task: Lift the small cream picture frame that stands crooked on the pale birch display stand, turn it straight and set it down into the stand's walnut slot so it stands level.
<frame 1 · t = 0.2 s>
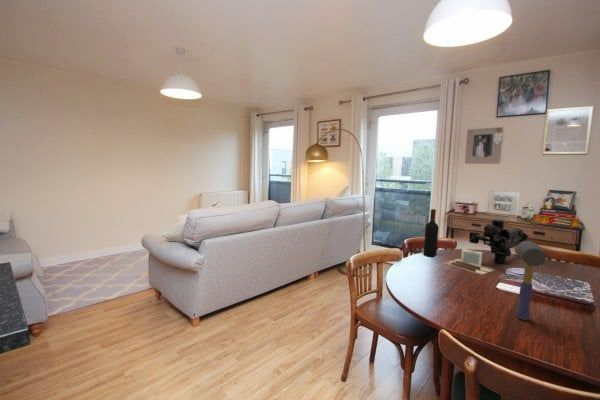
hand: (479, 242, 160), 17 cm above the table, tool horizontal, fingers open, 9 cm apart
display stand: (468, 267, 168), on the table
wine bottle: (429, 255, 190), on the table
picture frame: (470, 264, 171), point 1 cm above the table, touching display stand
rubber mallet: (522, 318, 114), on the table
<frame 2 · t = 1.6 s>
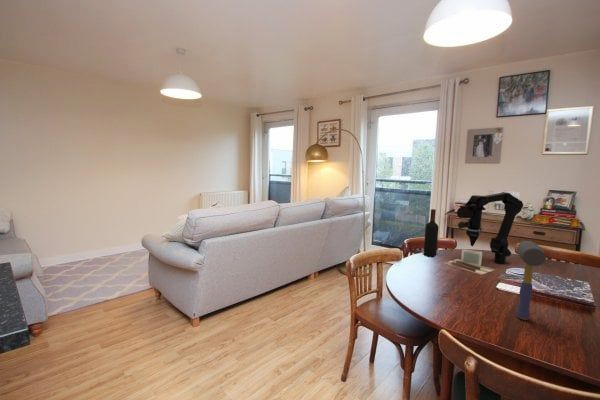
hand: (472, 244, 170), 13 cm above the table, tool pointing down, fingers open, 9 cm apart
nothing on the table moved.
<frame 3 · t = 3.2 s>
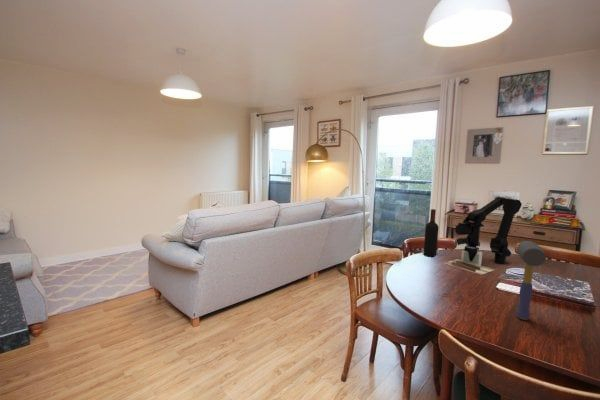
hand: (471, 260, 171), 3 cm above the table, tool pointing down, fingers closed on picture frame, 3 cm apart
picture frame: (470, 264, 171), point 1 cm above the table, touching display stand, gripper
everything else where it was.
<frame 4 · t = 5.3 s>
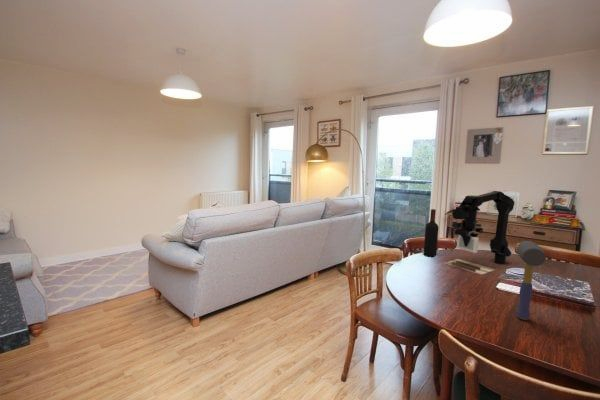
hand: (467, 245, 165), 13 cm above the table, tool pointing down, fingers closed on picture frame, 3 cm apart
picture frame: (466, 250, 165), point 11 cm above the table, touching gripper
everything else where it was.
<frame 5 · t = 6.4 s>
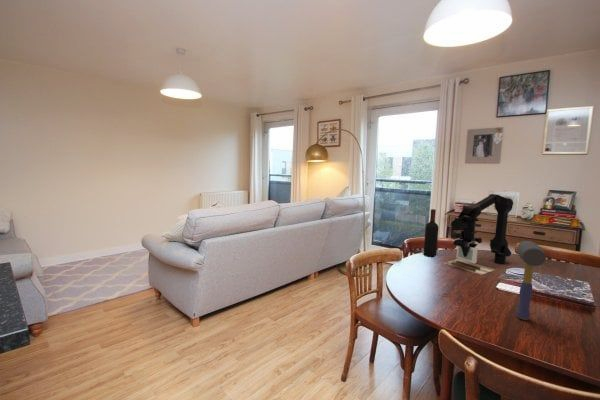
hand: (466, 256, 166), 7 cm above the table, tool pointing down, fingers closed on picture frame, 3 cm apart
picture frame: (466, 260, 166), point 5 cm above the table, touching gripper
everything else where it was.
when the fingers open (4 cm above the table, at t = 7.2 s): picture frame stays where it is, resting on display stand.
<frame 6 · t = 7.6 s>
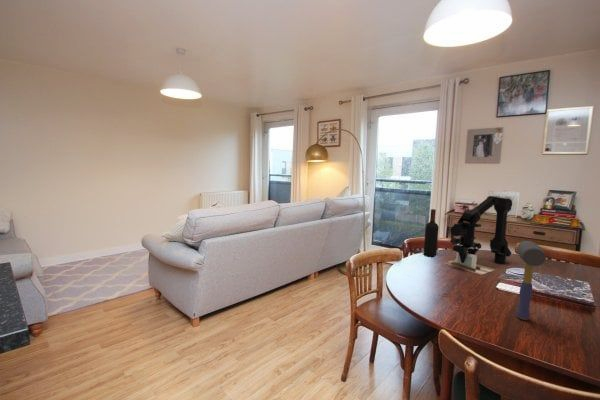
hand: (465, 261, 166), 4 cm above the table, tool pointing down, fingers open, 7 cm apart
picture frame: (465, 267, 166), point 1 cm above the table, touching display stand
everything else where it was.
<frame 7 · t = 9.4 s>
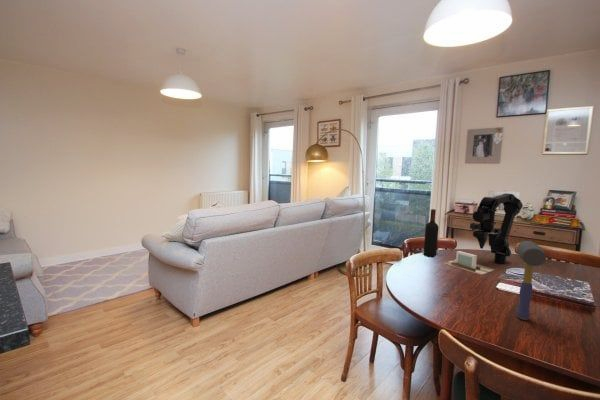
hand: (485, 247, 166), 13 cm above the table, tool pointing down, fingers open, 9 cm apart
nothing on the table moved.
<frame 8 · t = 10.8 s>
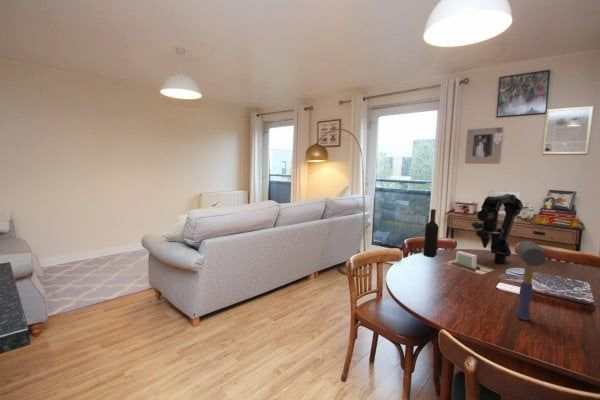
hand: (488, 246, 166), 13 cm above the table, tool pointing down, fingers open, 9 cm apart
nothing on the table moved.
at the end: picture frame 0.0 cm from the target spot on the display stand, point 1.0 cm above the display stand's base; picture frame tilted 0°; the gripper is holding nothing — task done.
